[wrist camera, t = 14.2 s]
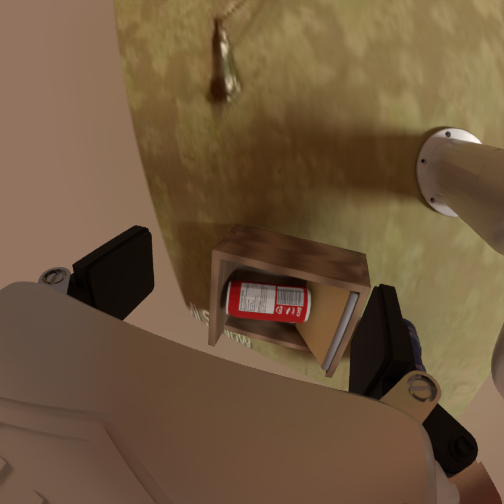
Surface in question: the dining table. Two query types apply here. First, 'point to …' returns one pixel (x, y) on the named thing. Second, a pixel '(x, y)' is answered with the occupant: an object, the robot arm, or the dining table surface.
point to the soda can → (268, 301)
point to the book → (326, 320)
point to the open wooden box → (281, 281)
